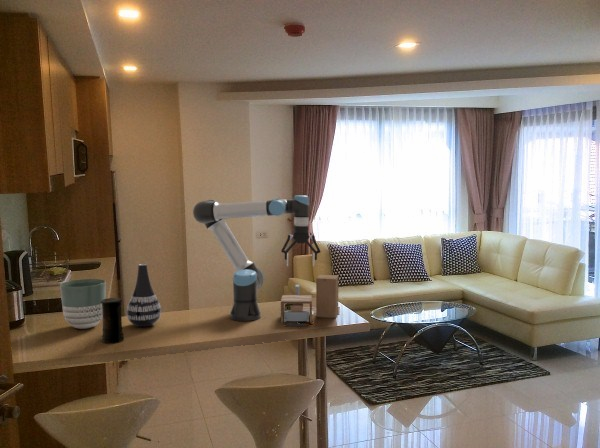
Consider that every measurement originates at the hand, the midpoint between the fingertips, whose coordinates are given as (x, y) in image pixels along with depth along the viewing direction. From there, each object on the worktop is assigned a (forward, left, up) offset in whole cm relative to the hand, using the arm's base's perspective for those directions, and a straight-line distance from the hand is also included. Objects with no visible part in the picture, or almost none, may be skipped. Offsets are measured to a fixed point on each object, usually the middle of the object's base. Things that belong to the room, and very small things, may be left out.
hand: (300, 266), depth 268 cm
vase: (-67, -41, -25) cm, 82 cm away
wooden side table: (+1, -13, -24) cm, 28 cm away
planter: (-93, -50, -25) cm, 108 cm away
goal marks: (-2, -1, -24) cm, 24 cm away
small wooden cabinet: (0, -8, -24) cm, 26 cm away
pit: (+4, -24, -24) cm, 34 cm away
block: (+1, -13, -25) cm, 28 cm away
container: (-68, -65, -25) cm, 97 cm away
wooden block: (+15, -3, -25) cm, 29 cm away
